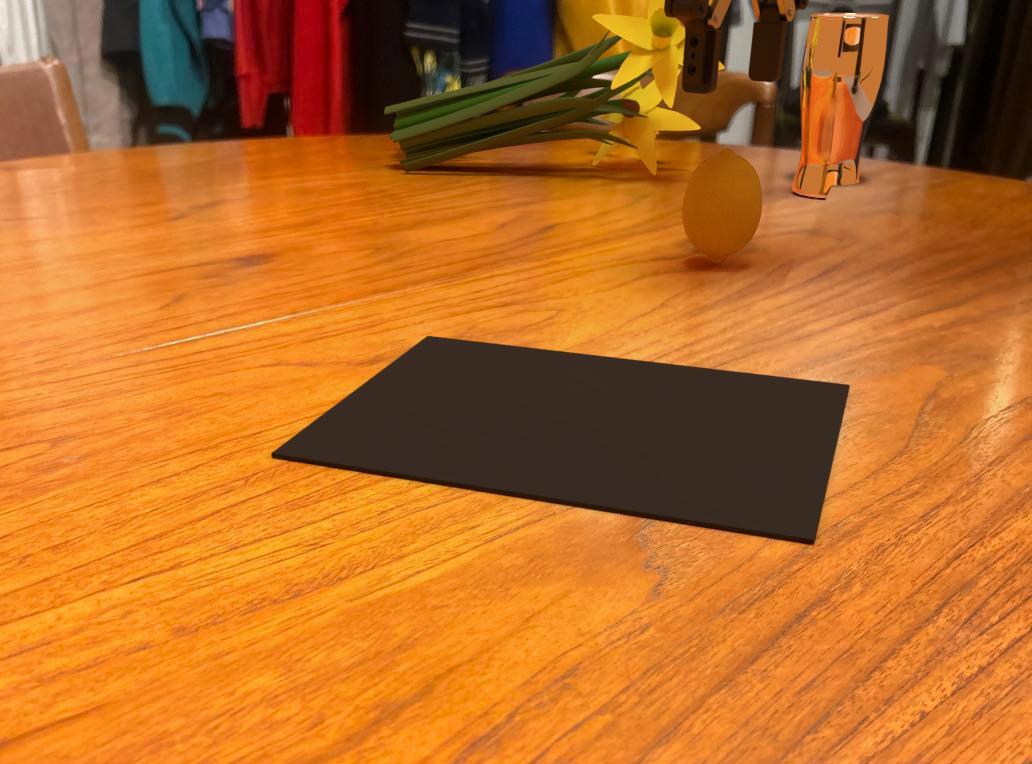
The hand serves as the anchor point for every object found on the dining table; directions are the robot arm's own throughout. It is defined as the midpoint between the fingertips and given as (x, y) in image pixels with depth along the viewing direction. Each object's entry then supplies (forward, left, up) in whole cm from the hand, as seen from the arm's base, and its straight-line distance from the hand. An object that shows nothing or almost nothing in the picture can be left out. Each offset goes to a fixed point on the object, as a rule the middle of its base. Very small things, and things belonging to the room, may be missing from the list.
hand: (732, 86), depth 73 cm
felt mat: (+1, +32, -12) cm, 34 cm away
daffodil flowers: (+23, -30, -12) cm, 40 cm away
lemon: (0, 0, -12) cm, 12 cm away
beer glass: (-5, -29, -12) cm, 32 cm away
